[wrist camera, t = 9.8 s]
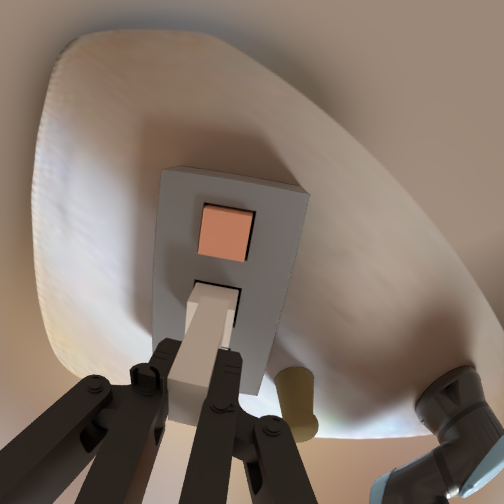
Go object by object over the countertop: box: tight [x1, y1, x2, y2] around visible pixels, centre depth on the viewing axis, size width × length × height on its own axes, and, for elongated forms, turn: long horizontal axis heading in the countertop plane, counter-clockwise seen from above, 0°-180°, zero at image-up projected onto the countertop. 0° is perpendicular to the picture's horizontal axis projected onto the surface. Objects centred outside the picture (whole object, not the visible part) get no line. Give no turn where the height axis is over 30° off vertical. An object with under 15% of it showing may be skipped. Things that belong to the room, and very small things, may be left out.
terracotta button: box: [198, 203, 253, 262], centre depth 28 cm, size 4×4×4 cm
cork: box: [275, 367, 319, 443], centre depth 36 cm, size 6×6×11 cm
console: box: [152, 166, 310, 396], centre depth 33 cm, size 14×26×6 cm, turn 170°
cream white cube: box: [185, 282, 239, 348], centre depth 28 cm, size 4×4×4 cm
